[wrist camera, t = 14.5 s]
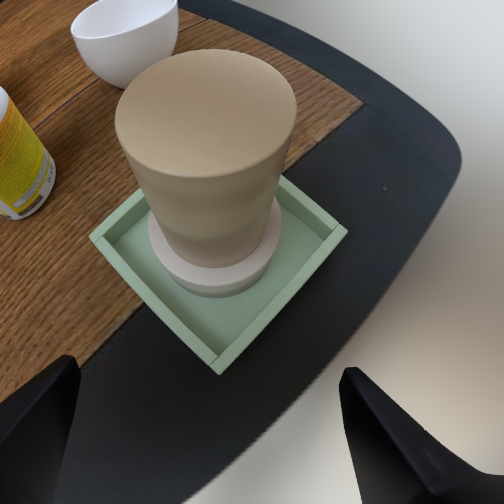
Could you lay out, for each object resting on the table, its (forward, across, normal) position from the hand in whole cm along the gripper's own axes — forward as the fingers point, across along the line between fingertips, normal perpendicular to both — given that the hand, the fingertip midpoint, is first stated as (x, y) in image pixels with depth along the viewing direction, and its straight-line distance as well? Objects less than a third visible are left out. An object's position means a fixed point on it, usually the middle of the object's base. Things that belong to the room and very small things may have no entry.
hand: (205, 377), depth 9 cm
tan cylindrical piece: (+8, 0, -1) cm, 8 cm away
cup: (+20, +8, -11) cm, 25 cm away
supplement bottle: (+12, +14, -3) cm, 19 cm away
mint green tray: (+9, 0, 0) cm, 9 cm away
